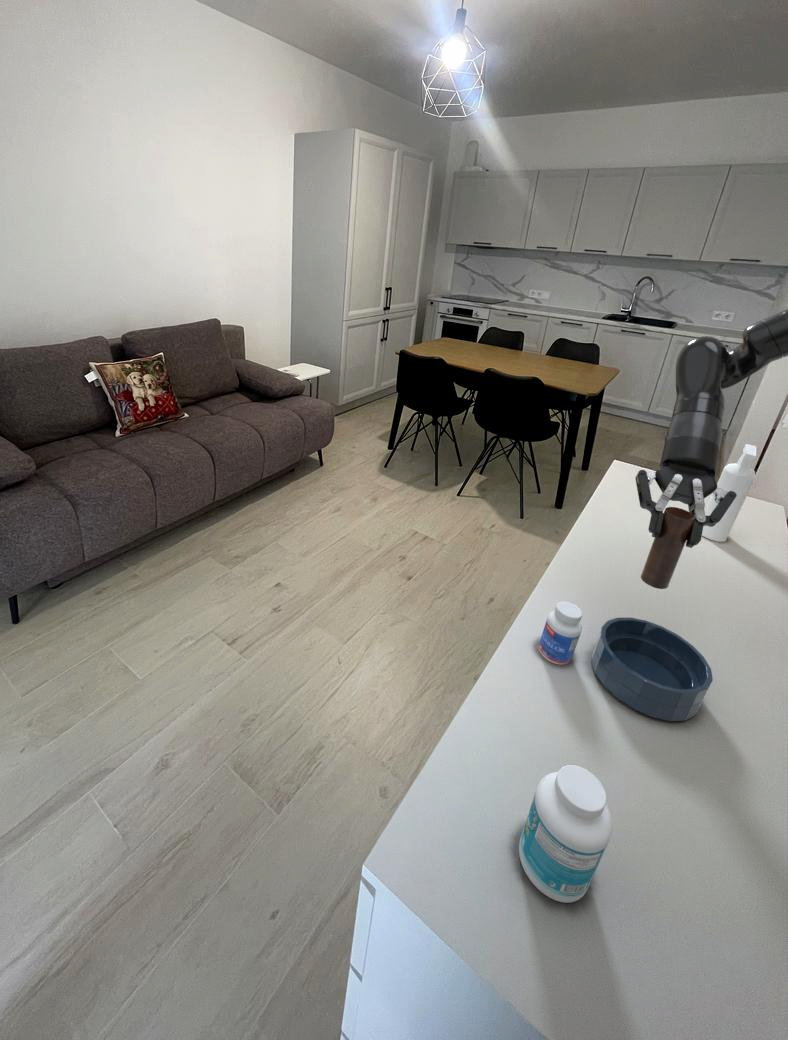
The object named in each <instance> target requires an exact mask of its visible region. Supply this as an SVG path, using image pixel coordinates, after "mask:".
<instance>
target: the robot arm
mask: <svg viewBox="0 0 788 1040" xmlns="http://www.w3.org/2000/svg"><path fill="white" fill-rule="evenodd" d="M741 342H742V343H741V344H739V345H738V346H737V347H735V348H733V349H732V350H731V351H729V350H728V348H727V346H726V345H725V343H724V342H722V340H720V339H718V338H716V337H714V336H709V335H706V336H705V335H704V336H699V337H695V338H693V339H691V340H690V341H688V342H687V343H686V344H685V345H684V346H683V347H682V348H681V350H680V351H679V353H678V355H677V358H676V361H675V393H676V400H675V402H674V406H673V412H672V416H671V420H670V423H669V425H668V428H667V432H666V435H665V437H664V445H663V450H662V454H661V457H660V458H661V459H660V462H659V467H658V469H656V470H655V471H646V469H640V470H638V472H637V474H636V476H635V484H636V485H635V486H636V490H637V497H638V501H639V502H638V503H639V507H640V509H643V510H647V511H648V512H649V513H650V520H649V523H648V532H649V533H651V537H652V538H658V536H659V535H660V532H661V527H662V522H663V518H664V511H665V509H666V508H667V505H668V504H669V502H670V501H671V502H680V503H682V504H684V505H687V508H688V512H690V513H692V514H693V515H694V516H695V520H694V523H693V525H692V528H691V530H690V533H689V535H688V538H687V540H686V543H685V547H686V548H690V549H692V548H694V547H695V546H697V545H699V543H700V542H701V541H702V537H703V536H702V531H703V526H709V527H713V526H714V525H715V524H716V523H718V522H719V521H720V520H721V518H722V517H723V516H724V514H725V513H726V511H727V510H728V508H729V507H730V505H731V504H732V502H733V501H734V499H735V498H736V496H737V494H736V493H735V492H733V491H729V492H727V491H725V490H723V489H721V488H719V487H717V483H718V482H717V480H716V474H717V467H718V462H719V456H720V451H721V445H722V437H723V421H724V415H725V410H726V398H725V395H724V392H723V391H724V390H727V389H729V388H731V387H734V386H735V385H737V384H739V383H741V382H742V381H744V380H746V379H747V378H749V377H751V376H752V375H754V374H755V373H757V372H759V371H760V370H762V369H763V368H765V367H766V366H768V365H769V364H771V363H773V362H775V361H778V360H780V359H781V360H782V359H783V358H786V357H788V308H786V309H785V310H782V311H780V312H777V313H775V314H773V315H771V316H768V317H766V318H764V319H762V320H759V321H756V322H754V323H752V324H749V326H747V327H746V328H745V329H743V332H742V341H741ZM653 480H654V481H655V483H656V484H657V487H658V488H659V489H660V491H661V492H662V493H661V494H660V497H659V498H658V500H657V501H656V502H655V501H653V498H652V493H651V489H650V486H651V485H652V483H653ZM712 494H714V495H715V502H716V503H718V504H717V506H716V507H715V509H714V510H713V512H712V513H711V515H708V516H705V510H706V509H705V506H706V503H705V499H706V498H707V497H709V496H710V495H712Z"/></svg>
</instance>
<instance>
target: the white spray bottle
mask: <svg viewBox="0 0 788 1040" xmlns="http://www.w3.org/2000/svg"><path fill="white" fill-rule="evenodd" d="M756 458H757V446H756V445H753V444H748V443H745V445H744V447H743V449H742V454H741V456H740V457H739V459H738V460H737V461H736V463H735V462H734V463H733V462H732V463H727V464H726V465H725V466H724V467H723V470H722V472H721V473H720V476H719V478H718V481H717V482H716V483H717V487H719V488H721V489H723V490H725V491H727V492H729V491H733V492H735V493H736V494H737V496H736V498H735V499H734V501H733V502H732V504H731V505H730V507H729V508H728V510H727V511H726V513H725V514H724V516H723V517H722V518H721V520H720V521H719V522H718V523H716V524H715V525H714V526H713V527H709V526H703V531H702V537H703V538H706V539H708V540H711V541H715V542H718V543H721V542H727V538H728V537H729V535H730V533H731V530H732V528H733V526H734V524H735V522H736V520H737V517H738V515H739V513H740V511H741V509H742V507H743V505H744V503H745V501H746V499H747V497H748V494H749V493H750V490H751V488H752V486H753V484H754V482H755V479H756V470H754V469H752V467H751V465H752V464H751V463H752V460H753V461H755V460H756ZM717 504H718V503H716V502H715V495H714V494H713V493H712V494H711V497H710V499H709V501H708V503H707V505H706V508H705V509H704V510H705V516H708V515H711V513H712V512H713V510H714V509H715V507H716V506H717Z"/></svg>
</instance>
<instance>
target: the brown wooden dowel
mask: <svg viewBox="0 0 788 1040" xmlns="http://www.w3.org/2000/svg"><path fill="white" fill-rule="evenodd" d="M663 513H664V518H663V522H662V527H661V532H660V535H659V536H658V538H655V537H653V538H654V539H653V542H652V544H651V546H650V550H649V552H648V555H647V558H646V561H645V562H644V565H643V569H642V571H641V574H640V579H641V581H642V582H643V583H644V584H646V585H648V586H649V587H652V588H655V589H659V590H665V589H668V587H669V585H670V583H671V580H672V579H673V575H674V574H675V571H676V568H677V566H678V563H679V560H680V558H681V555H682V553H683V551H684V548H685V546H686V541H687V538H688V535H689V533H690V530H691V528H692V525H693V523H694V520H695V516H694V515H693V514H692V513H690V512H689V510H685V509H683V508H680V507H676V506H666V507H665V508H664V510H663Z"/></svg>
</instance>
